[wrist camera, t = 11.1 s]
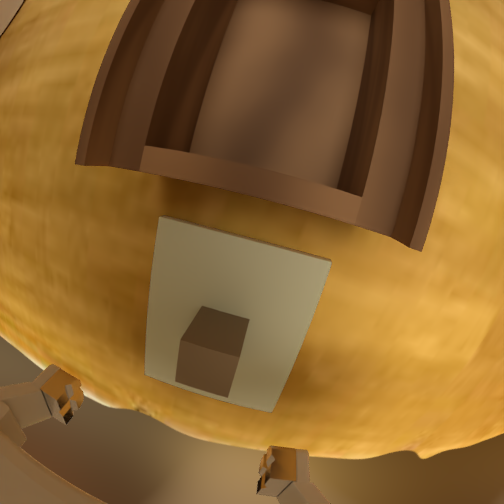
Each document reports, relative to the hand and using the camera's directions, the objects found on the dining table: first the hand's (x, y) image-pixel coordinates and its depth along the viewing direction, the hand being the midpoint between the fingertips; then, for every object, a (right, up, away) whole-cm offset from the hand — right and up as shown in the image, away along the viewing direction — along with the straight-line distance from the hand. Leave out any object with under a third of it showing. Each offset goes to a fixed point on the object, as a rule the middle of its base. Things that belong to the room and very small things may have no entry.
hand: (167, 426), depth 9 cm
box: (+5, +17, +4) cm, 18 cm away
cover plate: (+2, +2, +9) cm, 10 cm away
